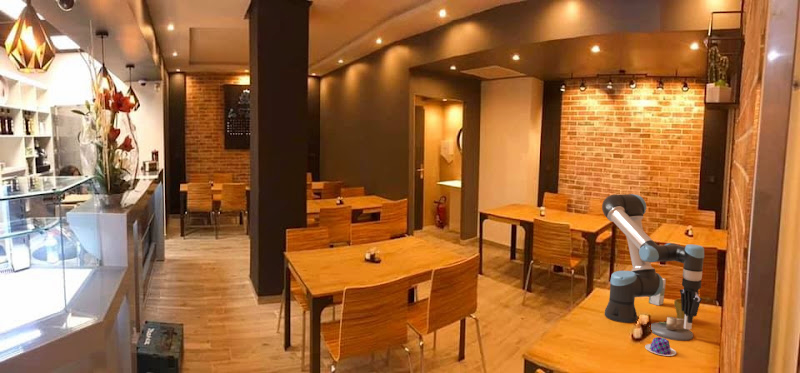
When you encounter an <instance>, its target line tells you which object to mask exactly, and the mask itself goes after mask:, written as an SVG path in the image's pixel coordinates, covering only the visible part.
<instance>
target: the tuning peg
mask: <svg viewBox="0 0 800 373" xmlns="http://www.w3.org/2000/svg"><path fill="white" fill-rule="evenodd" d="M666 322H667V324H666V328H667V329H669V330H676V329H684V319H677V317H673V316H667V317H666Z"/></svg>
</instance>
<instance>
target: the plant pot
mask: <svg viewBox="0 0 800 373" xmlns="http://www.w3.org/2000/svg"><path fill="white" fill-rule="evenodd" d="M673 306H674V308H675V312H676V318H677V319H684V316H685V314H684V311H682V307H681V297H680V298H676V299H674V304H673ZM694 318H695V316H693V320H694ZM693 320H692V322H693Z"/></svg>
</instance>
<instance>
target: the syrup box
mask: <svg viewBox="0 0 800 373" xmlns="http://www.w3.org/2000/svg"><path fill="white" fill-rule="evenodd" d="M662 279H663V289H662V291H661V293H660V294H658V295H656V296H650V297H648V303H649V304H652V305H656V306H661V305H664V300H665V290H666V280H667V279H666V278H663V277H662Z"/></svg>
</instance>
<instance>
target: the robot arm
mask: <svg viewBox="0 0 800 373" xmlns="http://www.w3.org/2000/svg"><path fill="white" fill-rule="evenodd" d="M601 210H602V213H603V215H604V216H605V217H606V219H607V220H608V221H610V222H613V224H615V225H616V227H617V228H619V230H620V231H621V232H622V233H623V234H624V235H625V237H626V240H627V246H628V250H629V254H630V255H629V256H630V260H631V264H632V268H631V270H617V271H614V272H612V273H611V277H610V280H609V284H610V286H609V299H608V302H607V305H606V307H605V309H604V316H605V318H606V319H609V320H612V321H615V322H620V323H636V322H637V321H636V320H638V313H637V310H636V306H635V298H642V297H643V298H644V297H648V298H649V297H650V296H656V295H658V294H660V293H661V291H662V289H663V279H664V278H663V277H662V276H661V275H660V273H657V272H656V268H654V267H653V266H652V264H651V263H658V262H660V263H661V262H677V263H682V264H683V268H682V277H683V278H682V280H681V285H682V287H683V289H679V292H680V298H681V307H682V311H684V314H685V316H684V329H689V330H692V326H693V321H692V320H694V318H693V316H694V317H697V315H698V311H699V308H700V304H701V303H702V301H703V299H702V297H700V296H699V290H700V289H701V288H702V278H703V271H704V269H703V268H704V260H705V248H704V246H702V245H699V244H692V243H691V244H686V245H685V246H684V245H683V246H682V245H679V244H676V243H670V242H669V243H668V242H667V243H665V244H661V245H660V244H659V245H658V244H657V243H656V242H655V241H654V240H653V239H652V238H651V237H650V236H649V235H648V234H647V233H646V232H645V231H644V227H643V223H642V220H643V219H644V218H645V217H644V215H645V213H646V212H647V203H646V201H645V199H644V198H643V197H642V196H641V195H638V194H633V193H629V194H626V193H625V194H611V195H610V194H609V195H608V196H606V197H605V198H604V199H603V202H602V205H601ZM662 278H663V279H662Z"/></svg>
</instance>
